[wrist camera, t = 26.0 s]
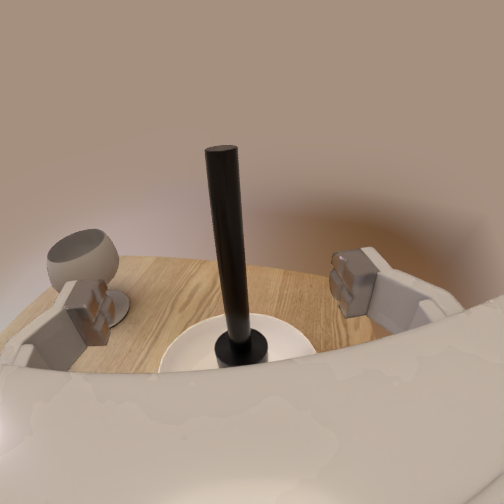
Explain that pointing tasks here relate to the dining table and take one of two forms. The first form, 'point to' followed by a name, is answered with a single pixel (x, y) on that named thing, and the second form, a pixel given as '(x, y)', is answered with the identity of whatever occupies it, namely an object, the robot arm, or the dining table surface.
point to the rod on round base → (231, 261)
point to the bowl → (208, 331)
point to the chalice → (86, 264)
